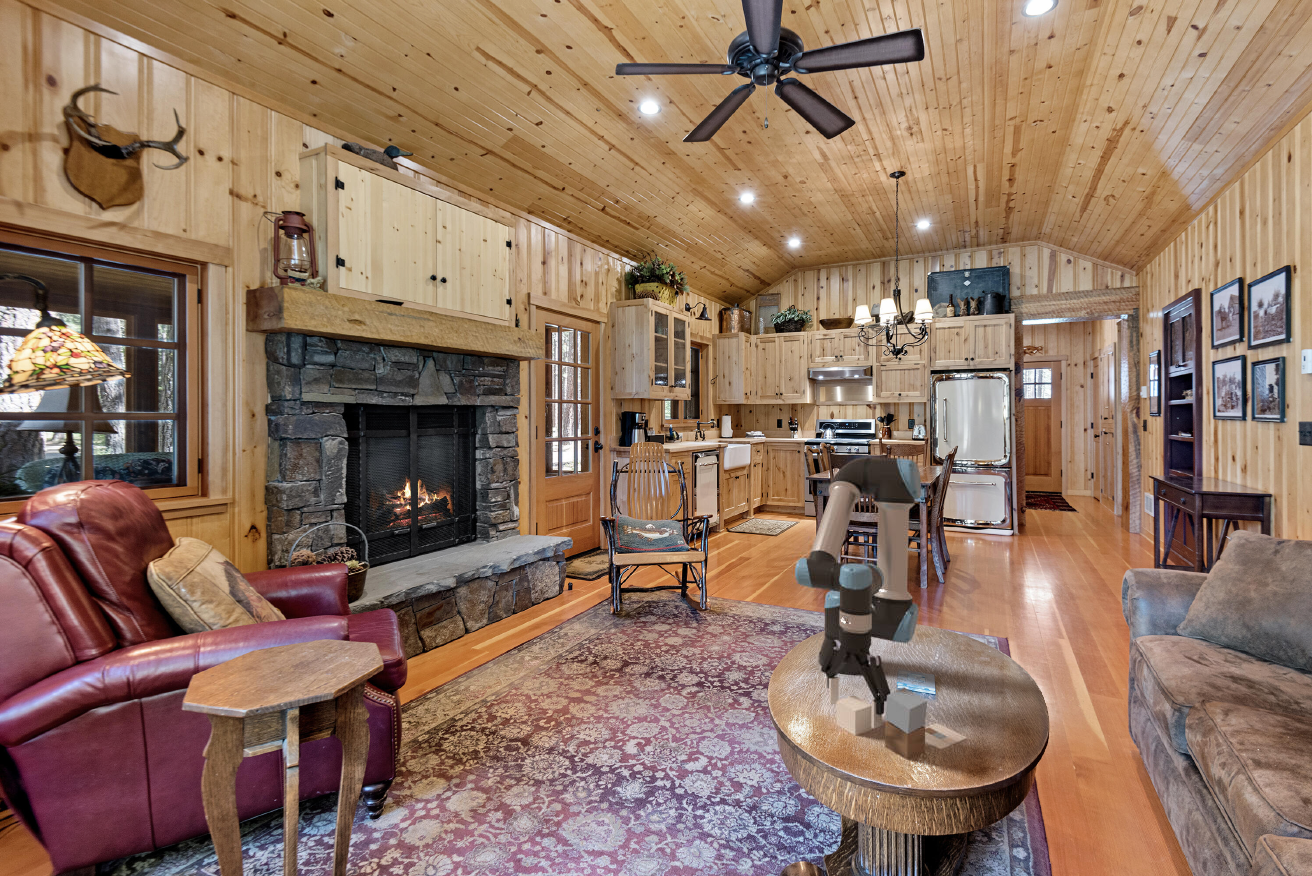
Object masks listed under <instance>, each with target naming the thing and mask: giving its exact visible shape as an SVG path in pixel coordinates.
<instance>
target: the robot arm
mask: <svg viewBox="0 0 1312 876" xmlns="http://www.w3.org/2000/svg"><path fill="white" fill-rule="evenodd" d="M920 475H921V474H920V470H919V466H918V464H917V463H916V462H915V460H913V459H909V458H900V457H898V458H896V457H895V458H893V457H868V456H867V457H866V456H865V457H859V458H855V459H853V460H851V461H850V462H848V463H846V464H844V466H842V467H841V468H840V469H839V470H838V471H837V472H836V473H835V475H834V476H833V478H832V479H831V482H830V484H829V487H828V494H829V497H828V501H827V503H826V506H825V509H824V512H823V515H822V517H821V521H820V523H819V527H818V530H817V532H816V535H815V538H814V541H813V543H812V547H811V550H810V553H809V556H808V558H807V557H801V558H799V559H798V560H797V561H796V563H795V568H794V569H795V570H794V577H795V581H796V583H797V584H798V585H800V586H804V587H807V588H811V589H819V590H826V591H828V592H827V593H826V594H825V596H824V597H825V598H824V605H823V608H824V638H823V642H822V644H821V648H820V651H819V653H818V663H819V665H820V666H821V667H820V671H821V672H822V673H823V674H825V676H826V678H827V681H826V682H827V683H826V684H827V685H826V688H827V689H828V705H830V706H832V705H837V701H838V700H840V699H839V694H840V693H839V692H840V690H839V687H840V686H839V685H840V684H839V683H840V682H839V681H840V677H838V675H839V674H844V675H845V674H846V675H858V674H862V676H863V679H864V680H865V683H866V685H867V687H868V688H869V690H870V693H871V695H872V696H873V699H871V705H872V711H871V727H872V728H873V729H876V728H877V729H878V728H880V727H882V726H883V724H882V723H883V718H882V717H883V715H884V713H885V702H887V695H889V694H891V693H892V692H891V690H890V687H889V684H888V680H887V678H886V675H885V672H884V669H883V666H882V657H881V656H880V655H872V654H871V652H870V650H871V649H870V648H871V645H872V638H874V639H879V640H883V641H885V640H886V641H889V642H890V641H891V642H893V643H901V644H907V643H909V642H910V641H912V640H913V637H914V635H915V630H916V628H917V625H918V617H919V605H918V604H917V603H915V602H913V595H912V594H911V593H910V592H909V591H908V568H909V567H908V565H909V564H908V563H909V562H908V561H909V521H910V509H911V508H913V506H915V505H916V503H915V502H916V501H915V500H917V499H919V498H921V496H922V481H921V476H920ZM862 496H872V497H873V501H872V503H874V504H875V505H876V506H877V508H878V509H877V551H876V565H875V564H873V563H864V564H863V563H862V564H861V563H844V562H838V560H839V556H840V553H841V549H842V547H843V544H844V540H845V537H846V534H847V530H848V529H849V524H850V521H851V518H852V515H853V511H854V508H855V505H856V504H857V503H858V502H860V500H861V497H862Z"/></svg>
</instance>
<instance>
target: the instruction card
mask: <svg viewBox="0 0 1312 876" xmlns="http://www.w3.org/2000/svg"><path fill="white" fill-rule="evenodd" d="M924 727H925V744H926V743H927V744H929V745H931V747H934V748H936V749H938V750H939V751H941V750H943V749H946V748H948V747H951V746H952V745H955V744H958V743H959V742H962V741H965V740H967V739H968V737H967V736H964V735H962V734H961V733H958V732H956V731H954V730H952V729H950V728H948V727H946V726H944V725H942V724H940V723H938V722H936V723H933V724H931V725H928V726H924Z"/></svg>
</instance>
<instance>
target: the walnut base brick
mask: <svg viewBox="0 0 1312 876" xmlns="http://www.w3.org/2000/svg"><path fill="white" fill-rule="evenodd" d="M884 724H885V725H884V727H885V729H884V731H885V732H884V733H885V734H884V735H885V738H884V747H885V748H886V749H887V750H889V751H891V752H893V753H895V754H897V755H898V756H900V757H902V758H903V759H905V760H907V761H908V760H911V759H913V758H916V757H917V756H920V755H923V754H925V753H926V742H925V727H926V726H925V725H924V726H922V727H920V728H918V729H916V730H914V731H912V732H910V733H909V734H907V733H906V732H904V731H903V730H901V729H900V728H898V727H897V726H895V725H894V724H892V723H891V722H889V721H888V720H886V721H885V723H884Z"/></svg>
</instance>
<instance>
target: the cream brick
mask: <svg viewBox="0 0 1312 876" xmlns="http://www.w3.org/2000/svg"><path fill="white" fill-rule="evenodd" d="M871 711H872V703H870V702H867V701H865V700H863V699H861V698H859V697H858V696H856V695H852V696H849V697H845V698H841V699H839V700H838V701H837V703H836V725H837V727H841V728H842V729H844V730H846V731H847V732H848V733H850V734H852V735H853V736H859V735H861V734H863V733H867V732H868V731H872V730H873V729H874V728H872V727H871Z"/></svg>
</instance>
